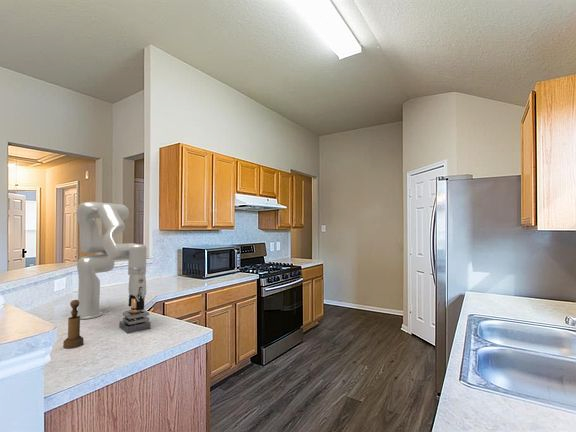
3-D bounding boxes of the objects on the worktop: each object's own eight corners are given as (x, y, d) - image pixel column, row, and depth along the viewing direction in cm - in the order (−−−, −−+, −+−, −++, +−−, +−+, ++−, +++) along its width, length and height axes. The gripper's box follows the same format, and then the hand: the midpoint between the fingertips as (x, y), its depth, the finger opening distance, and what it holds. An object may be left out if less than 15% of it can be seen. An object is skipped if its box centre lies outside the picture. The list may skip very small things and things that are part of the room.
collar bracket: (119, 327, 145) (119, 311, 145) (141, 323, 152) (141, 307, 152) (127, 333, 137) (128, 316, 137) (150, 328, 144) (150, 312, 144)
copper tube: (138, 320, 147) (139, 296, 147) (141, 322, 144) (142, 298, 144) (129, 322, 144) (130, 298, 144) (132, 324, 141) (133, 299, 141)
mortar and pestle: (60, 349, 119) (61, 302, 120) (67, 343, 125) (68, 298, 126) (80, 347, 121) (81, 301, 121) (85, 341, 127) (87, 297, 128)
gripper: (152, 272, 141) (151, 310, 140) (138, 268, 153) (137, 303, 153) (135, 274, 136) (134, 313, 135) (122, 269, 148) (121, 305, 147)
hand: (136, 307), depth 144 cm, fingers open, 9 cm apart
